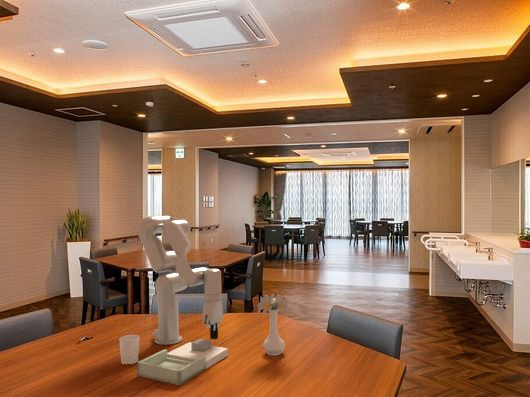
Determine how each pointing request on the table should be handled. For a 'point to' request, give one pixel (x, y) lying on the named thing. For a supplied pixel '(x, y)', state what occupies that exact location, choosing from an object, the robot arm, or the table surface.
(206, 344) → the grey square block
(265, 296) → the flower vase
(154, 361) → the box
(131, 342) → the white cup
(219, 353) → the plate
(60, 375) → the table surface
